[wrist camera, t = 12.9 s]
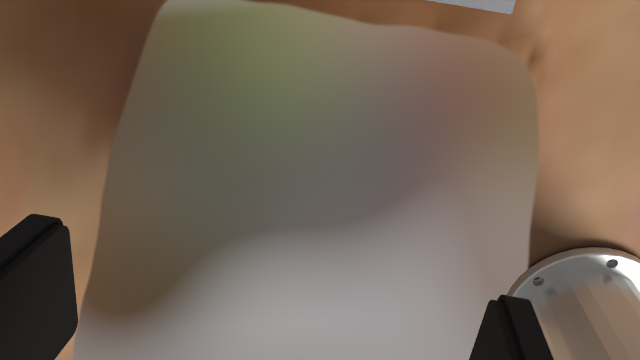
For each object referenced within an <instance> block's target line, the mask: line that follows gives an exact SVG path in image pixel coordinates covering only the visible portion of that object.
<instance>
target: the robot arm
mask: <svg viewBox="0 0 640 360" xmlns="http://www.w3.org/2000/svg"><path fill="white" fill-rule="evenodd" d="M77 324H78V314H77V304H76V294H75V284H74V274H73V264H72V254H71V244H70V233H69V229H68V227H66V226H63V223H62V221H61V219H59V218H56V217H50V216H44V215H38V214H31V215H29V216H27V217H26V218H25V219H23V220H22V221H21V222H20V223H18V224H17V225H16V226H14V227H13V228H12V229H11V230H9V231H8V232H7V233H6V234H4V235H3V236H2V237H0V360H54V359H55V358H56V357H57V356H58V354H59V353H60V352H61V350H62V349H63V348H64V347H65V345H66V344H67V343H68V341H69V340H70V339H71V338H72V336H73V335H74V333H75V331H76V328H77ZM469 360H640V259H639V258H637V257H636V256H633V255H631V254H629V253H626V252H624V251H620V250H615V249H610V248H599V247H588V248H578V249H573V250H569V251H565V252H561V253H558V254H555V255H553V256H550V257H548V258H546V259H544V260H542V261H540V262H539V263H537V264H535V265H534V266H532V267H531V268H529V269H528V270H527V271H526V272H525V273H523V274H522V275H521V276H520V277H519V278H518V280H517V281H516V282H515V283H514V285H513V286H512V287H511V289H510V291H509V292H508V294H507V295H500V297H499V298H498V300H497V301H496V300H490V301H489V303H488V305H487V308H486V311H485V314H484V317H483V320H482V324H481V326H480V329H479V332H478V335H477V338H476V341H475V344H474V347H473V350H472V353H471V355H470V359H469Z"/></svg>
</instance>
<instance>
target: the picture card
mask: <svg viewBox="0 0 640 360" xmlns="http://www.w3.org/2000/svg"><path fill="white" fill-rule="evenodd" d="M428 1H434V2H440V3H446V4H452V5H458V6H464V7H470V8H476V9H482V10H488V11H494V12H500V13H506V14H512V11H513V8H514V5H515V1H516V0H428Z"/></svg>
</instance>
